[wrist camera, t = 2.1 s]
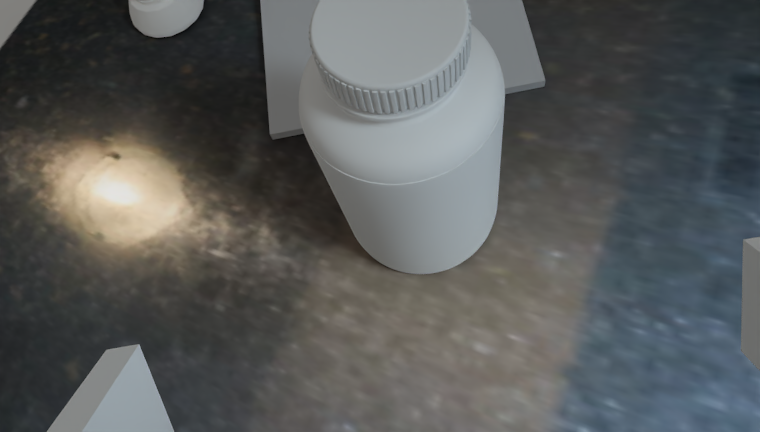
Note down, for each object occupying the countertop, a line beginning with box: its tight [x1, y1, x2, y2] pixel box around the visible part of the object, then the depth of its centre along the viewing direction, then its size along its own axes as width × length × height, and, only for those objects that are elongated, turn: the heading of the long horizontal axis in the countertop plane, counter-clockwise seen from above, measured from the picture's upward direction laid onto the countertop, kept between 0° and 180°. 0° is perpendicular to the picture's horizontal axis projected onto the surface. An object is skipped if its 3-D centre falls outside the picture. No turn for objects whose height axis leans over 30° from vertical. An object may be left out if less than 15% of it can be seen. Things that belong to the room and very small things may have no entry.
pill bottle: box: [299, 0, 505, 274], centre depth 27 cm, size 8×8×15 cm
